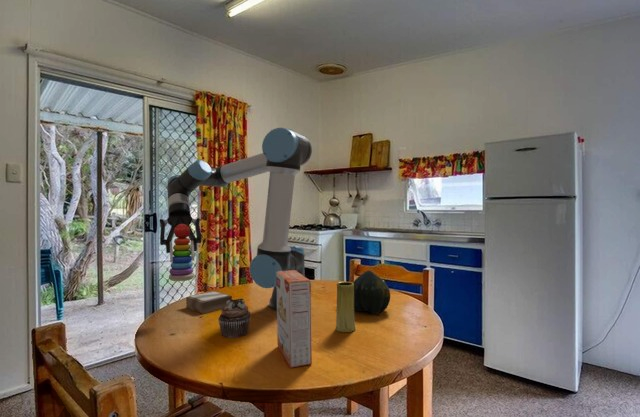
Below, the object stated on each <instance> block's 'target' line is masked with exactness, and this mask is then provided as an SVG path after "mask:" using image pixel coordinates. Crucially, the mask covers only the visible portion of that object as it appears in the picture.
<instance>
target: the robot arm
mask: <svg viewBox="0 0 640 417" xmlns="http://www.w3.org/2000/svg"><path fill="white" fill-rule="evenodd" d="M261 144H262V145H261V150H262V153H261V152H260V153H258V154H255V155H252V156H249V157H245V158H242V159H239V160H236V161H233V162H230V163H226V164H223V165H221V166H217V167H211V166H210V165H209V163H207V161H204V160H203V159H197V160H195V161H194V162H193V163H191V164H190V165H189V166H188V167H187V168H186V169H185V170H184V171H183V172H182V173H180V174H175V175H172V176H170V177H169V178H168V179H167V184H166V185H167V186H166V191H167V208H168V211H167V212H168V214H167V215H168V217H167V218H166V219H162V218H160V219H159V227H160V233H159V234H160V236H159V244H160V245H161V246H165V253H166V254H169V259H170V261H169V262H170V263H172V262H173V251H174V249H173V238H174V236H175V234H174V229H175V227H176V226H177V225H179V224H186V225H187V226H188V227H189V228H190V234H189V236H188V238H189V239H190V250H191V255H190V256H191V257H192V260H191V262H192V261H193V262H194V261H195V252H197V251H198V244H201V243H202V240H203V239H202V238H203V235H202V232H201V226H200V224H201V223H200V221H201V219H200V218H199V217H197V218H193V217H192V214H191V204H190V194H191V193H192V192H193V191H195V190H196V189H197V188H198V187H201V186H202V187H215V188H224V187H227V186H228V185H229V184H230V183H235V182H238V181H241V180H244V179H247V178H252V177H255V176H258V175H262V174H265V173H268V172H269V179H268V188H267V199H266V207H265V217H264V226H263V234H262V242H260V244H258V245H257V248H256V249H257V250H256V255H255V256H254V257H253V259H252V260H251V261H250V262H249V263H250V264H249V275H250V278H251V279H252V281H254V284H256V285H257V286H259V287H261V288H263V289H271V288H273V289H272V293H271V297H270V299H269V307H270V308H271V309H273V310H276V311H277V284H276V272H278V271H291V270H296V271H297V272H299V273H300V274H301V275H303V276H304V277H305V257H306V255H305V249H304V247H303V246H300V245H299V246H297V245H289V244H288V243H289V242H288V240H289V233H290V223H291V213H292V206H293V198H294V197H293V195H294V186H295V180H296V179H295V178H296V176H297V175H298V173H299V172H300V171H301V166H303V165H305V164H306V163H308V162H309V160H310V159H311V156H312V152H313V148H312V144H311V142H310V140H309V139H308V138H307V136H304V135H302V134H300V133H298V132H296V131H294V130H292V128H291V129H290V128H286V127H276V128H273V129H271V130H270V131H269V132H267V133H266V135H265V136H264V138H263V140H262V143H261ZM167 224H168V225H170V229H169V232H168V234H167V236H166V239H165V235H166V233H165V231H166V226H167ZM191 224H193V226H194V229H195V234H196V235H195V234H194V231H193V230H192V228H191V226H190V225H191Z"/></svg>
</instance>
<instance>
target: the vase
mask: <svg viewBox="0 0 640 417" xmlns="http://www.w3.org/2000/svg"><path fill="white" fill-rule="evenodd" d="M335 318H336V319H335V324H336V325H335V330H336V331H337V332H339V333H344V332H348V333H353V332H354V331H356V322H355V309H354V284H353V282H351V281H339V282H338V283H336V317H335ZM352 331H353V332H352Z"/></svg>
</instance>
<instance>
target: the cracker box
mask: <svg viewBox="0 0 640 417" xmlns="http://www.w3.org/2000/svg"><path fill="white" fill-rule="evenodd" d="M276 284H277V310H276V322H277V323H276V324H277V326H276V331H277V333H276V334H277V347H278V349H279V350H280V352H281V354H282V356H283V357H284V360H285V362H286V363H287V365H288V367H289V369H292V368H293V369H294V368H298V367H303V366H309V365H312V363H313V359H312V358H313V357H312V356H313V355H312V353H313V352H312V347H313V345H312V289H311V288H312V285H311V284H312V282H311V280H310V279H309V278H307V277H306V276H305V275H304V276H303V275H301V274H300V273H299V272H297V271H296V270H291V271H278V272H276Z"/></svg>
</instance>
